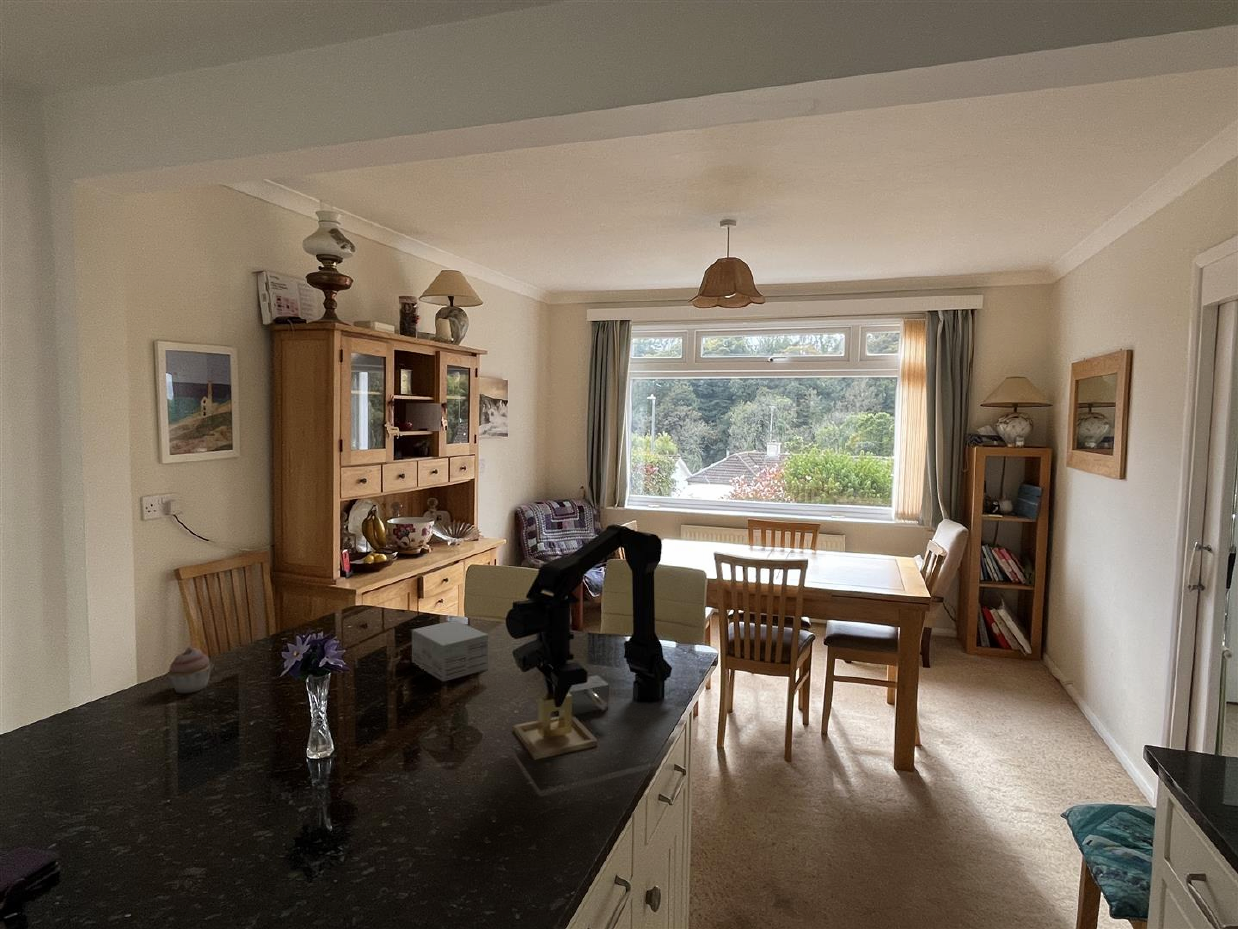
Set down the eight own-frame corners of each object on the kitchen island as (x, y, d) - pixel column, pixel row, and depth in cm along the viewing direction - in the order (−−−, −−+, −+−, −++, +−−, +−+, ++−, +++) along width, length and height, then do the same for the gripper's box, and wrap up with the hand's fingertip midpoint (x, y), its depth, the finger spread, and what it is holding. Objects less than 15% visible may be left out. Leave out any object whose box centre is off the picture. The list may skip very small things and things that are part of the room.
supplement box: (489, 669, 171) (489, 634, 170) (443, 683, 162) (443, 645, 161) (456, 652, 183) (456, 618, 183) (411, 663, 174) (411, 628, 174)
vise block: (598, 699, 154) (598, 674, 154) (627, 725, 141) (627, 698, 141) (553, 707, 149) (554, 681, 149) (579, 736, 136) (580, 707, 136)
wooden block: (565, 726, 136) (566, 690, 136) (571, 732, 134) (571, 695, 133) (538, 732, 133) (538, 695, 133) (543, 739, 131) (543, 701, 130)
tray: (571, 721, 142) (571, 713, 142) (597, 749, 131) (597, 740, 131) (513, 733, 136) (513, 725, 136) (534, 763, 125) (534, 754, 125)
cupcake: (157, 692, 153) (156, 650, 152) (196, 678, 162) (195, 638, 161) (185, 700, 149) (183, 656, 149) (223, 684, 158) (222, 643, 157)
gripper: (502, 619, 137) (502, 692, 138) (533, 648, 120) (532, 731, 121) (553, 612, 142) (552, 684, 143) (589, 639, 125) (588, 720, 126)
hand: (555, 703), depth 133 cm, fingers closed on wooden block, 3 cm apart
